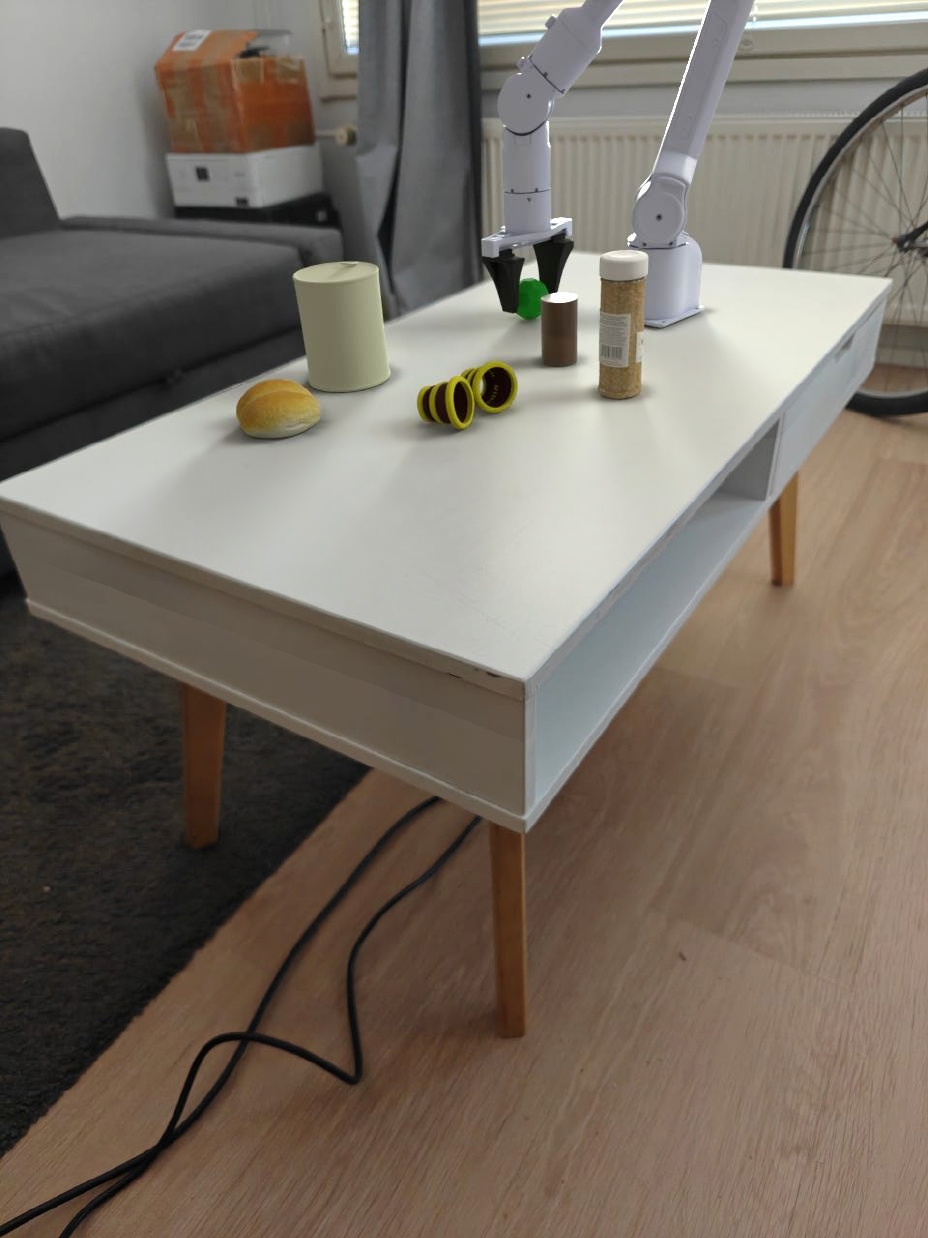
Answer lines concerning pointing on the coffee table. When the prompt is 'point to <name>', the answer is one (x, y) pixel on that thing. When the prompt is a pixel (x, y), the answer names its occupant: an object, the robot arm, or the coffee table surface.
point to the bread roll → (277, 409)
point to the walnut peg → (559, 329)
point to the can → (342, 325)
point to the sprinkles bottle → (621, 322)
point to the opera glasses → (468, 395)
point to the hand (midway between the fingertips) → (529, 305)
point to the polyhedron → (530, 298)
